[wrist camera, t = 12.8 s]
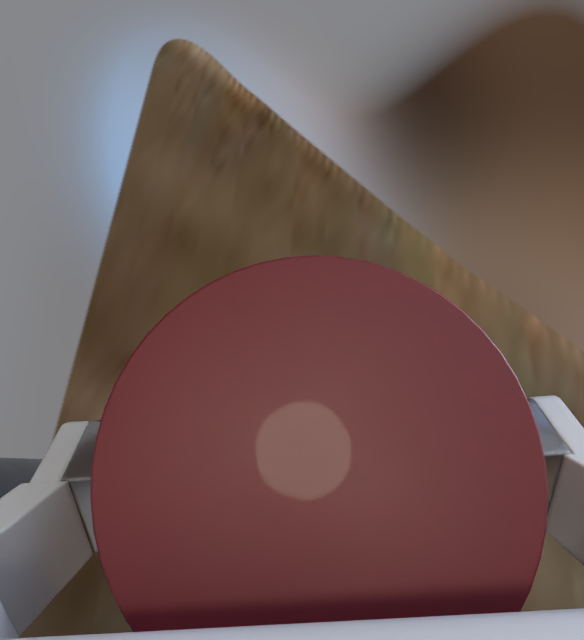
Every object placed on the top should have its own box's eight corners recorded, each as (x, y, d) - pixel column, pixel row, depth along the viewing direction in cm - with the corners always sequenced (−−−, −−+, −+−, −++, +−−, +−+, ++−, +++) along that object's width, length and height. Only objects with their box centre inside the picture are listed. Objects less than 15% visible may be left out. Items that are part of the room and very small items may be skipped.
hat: (53, 504, 15) (-215, 543, 7) (276, 235, 17) (255, 42, 9) (352, 771, 13) (426, 1212, 5) (559, 431, 15) (825, 392, 7)
